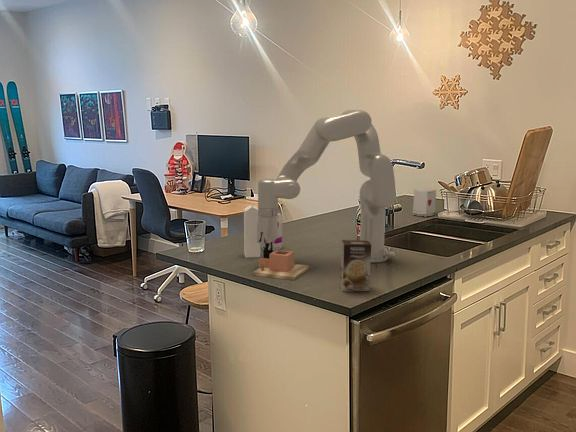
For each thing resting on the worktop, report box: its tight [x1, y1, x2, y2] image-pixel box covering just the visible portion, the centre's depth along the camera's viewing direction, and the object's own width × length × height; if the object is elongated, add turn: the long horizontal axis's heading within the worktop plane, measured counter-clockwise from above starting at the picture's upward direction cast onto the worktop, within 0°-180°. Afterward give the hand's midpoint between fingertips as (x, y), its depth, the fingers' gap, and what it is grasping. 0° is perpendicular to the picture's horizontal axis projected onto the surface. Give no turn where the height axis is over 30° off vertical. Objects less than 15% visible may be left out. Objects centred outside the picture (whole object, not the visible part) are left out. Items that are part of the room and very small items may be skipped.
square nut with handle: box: [257, 249, 295, 272], centre depth 211 cm, size 12×7×6 cm, turn 68°
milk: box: [243, 200, 261, 259], centre depth 232 cm, size 6×6×22 cm
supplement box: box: [412, 187, 437, 214], centre depth 320 cm, size 9×9×15 cm
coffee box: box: [339, 239, 372, 292], centre depth 190 cm, size 9×6×16 cm
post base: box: [252, 262, 310, 281], centre depth 211 cm, size 16×16×5 cm
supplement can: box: [273, 212, 283, 252], centre depth 244 cm, size 8×8×15 cm
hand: (268, 259), depth 218 cm, fingers closed
